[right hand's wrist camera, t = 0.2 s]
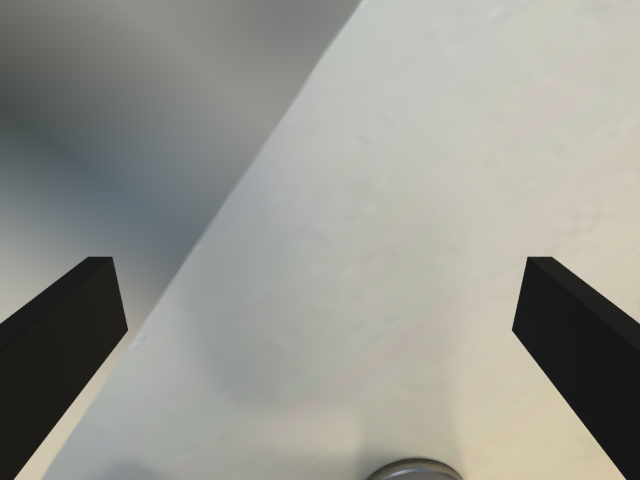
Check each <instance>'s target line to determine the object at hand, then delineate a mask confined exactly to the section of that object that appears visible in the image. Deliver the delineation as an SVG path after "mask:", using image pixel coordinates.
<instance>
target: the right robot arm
mask: <svg viewBox="0 0 640 480" xmlns="http://www.w3.org/2000/svg"><path fill="white" fill-rule="evenodd" d="M127 331H128V327H127V323H126V318H125V313H124V309H123V304H122V299H121V295H120V290H119V285H118V281H117V276H116V271H115V267H114V262H113V258H112V257H87V258H86V259H85V260H83V261H82V262H81V263H79V264H78V265H77V266H75V267H74V268H73V269H71V270H70V271H69V272H68V273H66V274H65V275H64V276H62V277H61V278H60V279H58V280H57V281H56V282H54V283H53V284H52V285H51V286H49V287H48V288H47V289H45V290H44V291H43V292H41V293H40V294H39V295H37V296H36V297H35V298H34V299H32V300H31V301H30V302H28V303H27V304H26V305H24V306H23V307H22V308H20V309H19V310H18V311H16V312H15V313H14V314H12V315H11V316H10V317H9V318H7V319H6V320H5V321H3V322H2V323H1V324H0V480H14V479H15V477H16V476H17V475H18V473H19V472H20V471H21V469H22V468H23V467H24V466H25V464H26V463H27V462H28V460H29V459H30V458H31V456H32V455H33V454H34V452H35V451H36V450H37V449H38V447H39V446H40V445H41V443H42V442H43V441H44V439H45V438H46V437H47V435H48V434H49V433H50V432H51V430H52V429H53V428H54V426H55V425H56V424H57V422H58V421H59V420H60V419H61V417H62V416H63V415H64V413H65V412H66V411H67V409H68V408H69V407H70V405H71V404H72V403H73V402H74V400H75V399H76V398H77V396H78V395H79V394H80V392H81V391H82V390H83V388H84V387H85V386H86V385H87V383H88V382H89V381H90V379H91V378H92V377H93V375H94V374H95V373H96V372H97V370H98V369H99V368H100V366H101V365H102V364H103V362H104V361H105V360H106V358H107V357H108V356H109V355H110V353H111V352H112V351H113V349H114V348H115V347H116V345H117V344H118V343H119V341H120V340H121V339H122V338H123V336H124V335H125V334H126V332H127ZM512 331H513V332H514V334H515V335H516V336H517V338H518V339H519V340H520V342H521V343H522V344H523V345H524V347H525V348H526V349H527V351H528V352H529V353H530V355H531V356H532V357H533V358H534V360H535V361H536V362H537V364H538V365H539V366H540V368H541V369H542V370H543V372H544V373H545V374H546V375H547V377H548V378H549V379H550V381H551V382H552V383H553V385H554V386H555V387H556V389H557V390H558V391H559V392H560V394H561V395H562V396H563V398H564V399H565V400H566V402H567V403H568V404H569V405H570V407H571V408H572V409H573V411H574V412H575V413H576V415H577V416H578V417H579V419H580V420H581V421H582V422H583V424H584V425H585V426H586V428H587V429H588V430H589V432H590V433H591V434H592V436H593V437H594V438H595V439H596V441H597V442H598V443H599V445H600V446H601V447H602V449H603V450H604V451H605V452H606V454H607V455H608V456H609V458H610V459H611V460H612V462H613V463H614V464H615V466H616V467H617V468H618V469H619V471H620V472H621V473H622V475H623V476H624V477H625V479H626V480H640V324H639V323H638V322H637V321H635V320H634V319H633V318H631V317H630V316H629V315H627V314H626V313H625V312H624V311H622V310H621V309H620V308H618V307H617V306H616V305H614V304H613V303H612V302H610V301H609V300H608V299H607V298H605V297H604V296H603V295H601V294H600V293H599V292H597V291H596V290H595V289H593V288H592V287H591V286H590V285H588V284H587V283H586V282H584V281H583V280H582V279H580V278H579V277H578V276H576V275H575V274H574V273H572V272H571V271H570V270H569V269H567V268H566V267H565V266H563V265H562V264H561V263H559V262H558V261H557V260H555V259H554V258H553V257H527V262H526V267H525V271H524V276H523V281H522V285H521V290H520V295H519V299H518V304H517V309H516V313H515V318H514V323H513V327H512ZM368 480H463V479H462V478H461V476H460V475H459V474H458V473H457V472H456V471H454V470H453V469H452V468H450V467H448V466H446V465H444V464H441V463H438V462H435V461H429V460H406V461H401V462H397V463H393V464H391V465H388V466H386V467H384V468H382V469H380V470H379V471H377V472H376V473H374V474H373V475H372V476H371V477H370V478H369V479H368Z"/></svg>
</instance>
